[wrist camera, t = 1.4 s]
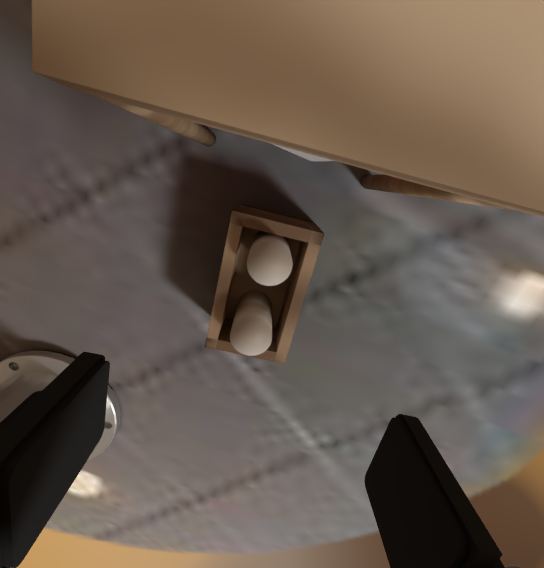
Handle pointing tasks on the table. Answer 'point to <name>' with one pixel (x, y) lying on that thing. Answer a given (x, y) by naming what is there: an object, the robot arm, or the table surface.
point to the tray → (244, 281)
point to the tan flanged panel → (327, 82)
